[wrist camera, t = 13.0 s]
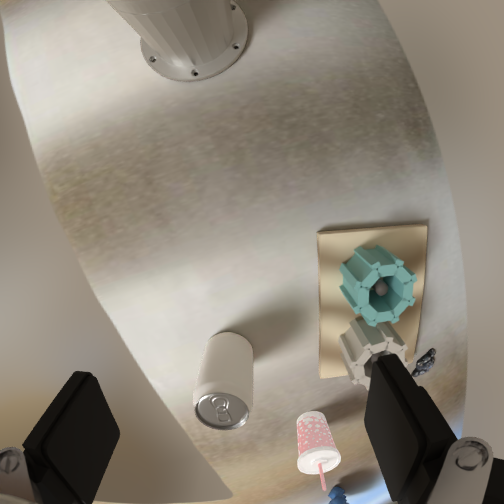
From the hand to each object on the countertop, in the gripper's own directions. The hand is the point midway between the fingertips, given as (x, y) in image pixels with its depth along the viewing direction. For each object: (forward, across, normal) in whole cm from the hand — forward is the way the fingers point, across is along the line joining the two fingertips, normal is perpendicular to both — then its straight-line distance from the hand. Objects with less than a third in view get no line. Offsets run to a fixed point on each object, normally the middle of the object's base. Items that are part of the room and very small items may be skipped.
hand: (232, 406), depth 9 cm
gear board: (+28, -15, +11) cm, 34 cm away
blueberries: (+29, -25, +22) cm, 44 cm away
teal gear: (+27, -14, +6) cm, 31 cm away
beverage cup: (+28, -7, +31) cm, 43 cm away
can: (+28, +4, +16) cm, 33 cm away
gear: (+27, -14, +16) cm, 34 cm away
